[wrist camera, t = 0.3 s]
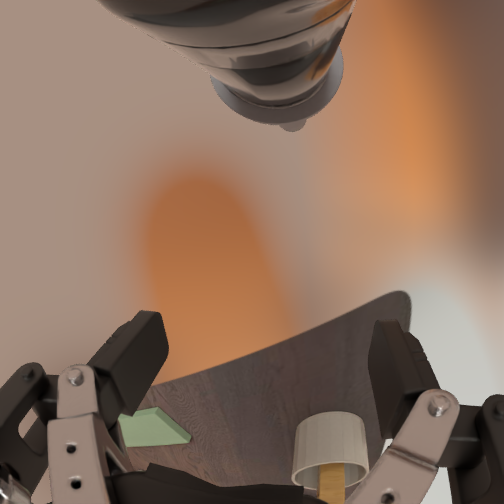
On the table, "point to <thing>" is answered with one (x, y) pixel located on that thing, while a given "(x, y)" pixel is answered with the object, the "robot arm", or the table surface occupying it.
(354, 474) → the tin
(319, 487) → the stick
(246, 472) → the table surface
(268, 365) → the table surface
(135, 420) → the green rectangular block
